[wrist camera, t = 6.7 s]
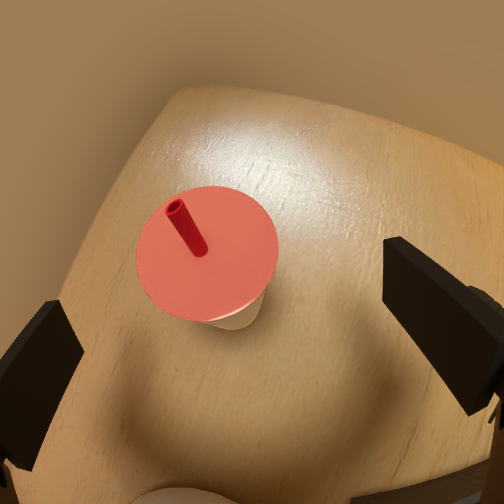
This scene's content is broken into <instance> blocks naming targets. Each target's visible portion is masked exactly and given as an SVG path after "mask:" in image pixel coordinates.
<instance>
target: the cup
mask: <svg viewBox="0 0 504 504" xmlns="http://www.w3.org/2000/svg"><path fill="white" fill-rule="evenodd" d="M277 259H278V238H277V233H276V230H275V227H274V224H273V222H272V220H271V218H270V217H269V215H268V214H267V212H266V211H265V210H264V208H263V207H262V206H261V205H260V204H259V203H258V202H256V201H255V200H254V199H253V198H251V197H249V196H248V195H246V194H244V193H242V192H240V191H237V190H234V189H231V188H226V187H219V186H207V187H199V188H194V189H191V190H188V191H185V192H182V193H180V194H178V195H176V196H174V197H173V198H171V199H169V200H168V201H167V202H165V203H164V204H163V205H162V206H160V207H159V208H158V209H157V210H156V211H155V212H154V214H153V215H152V216H151V217H150V219H149V220H148V222H147V223H146V225H145V227H144V229H143V231H142V233H141V235H140V238H139V241H138V245H137V252H136V267H137V273H138V276H139V280H140V282H141V285H142V287H143V289H144V290H145V292H146V294H147V295H148V296H149V298H150V299H151V300H152V301H153V302H154V303H155V304H156V305H157V306H158V307H160V308H161V309H162V310H164V311H165V312H167V313H169V314H171V315H173V316H175V317H178V318H181V319H185V320H190V321H200V322H203V323H206V324H209V325H212V326H216V327H219V328H223V329H227V330H238V329H242V328H244V327H246V326H248V325H249V324H251V323H252V322H253V321H254V319H255V318H256V316H257V315H258V312H259V309H260V307H261V304H262V300H263V297H264V294H265V290H266V287H267V285H268V283H269V282H270V280H271V278H272V276H273V273H274V271H275V267H276V264H277Z"/></svg>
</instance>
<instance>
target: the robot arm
mask: <svg viewBox="0 0 504 504" xmlns="http://www.w3.org/2000/svg"><path fill="white" fill-rule="evenodd" d="M382 301H383V303H384V304H385V305H386V306H387V308H388V309H389V310H390V311H391V313H392V314H393V315H394V316H395V318H396V319H397V320H398V321H399V323H400V324H401V325H402V326H403V328H404V329H405V330H406V332H407V333H408V334H409V335H410V337H411V338H412V339H413V341H414V342H415V343H416V345H417V346H418V347H419V348H420V350H421V351H422V352H423V354H424V355H425V356H426V358H427V359H428V360H429V362H430V363H431V364H432V366H433V367H434V369H435V370H436V371H437V373H438V374H439V375H440V377H441V378H442V380H443V381H444V382H445V384H446V385H447V387H448V388H449V389H450V391H451V392H452V394H453V395H454V396H455V398H456V399H457V401H458V402H459V404H460V405H461V407H462V408H463V409H464V411H465V412H466V414H467V415H468V417H469V416H471V415H473V414H474V413H476V412H478V411H480V410H482V409H483V408H485V407H487V406H488V404H489V402H490V400H491V398H492V396H493V394H494V392H495V393H496V395H497V396H498V397H499V398H500V400H499V402H498V403H497V405H496V407H495V409H494V411H493V413H492V414H491V416H490V418H489V421H488V423H490V424H491V422H492V421H493V419H494V417H495V416H496V417H495V426H494V433H493V440H492V446H491V452H490V457H489V462H488V467H487V472H486V476H485V481H484V485H483V489H482V493H481V496H480V500H479V503H478V504H504V308H502V306H501V305H500V304H499V303H498V302H496V301H495V302H494V299H493V298H492V297H490V296H489V295H488V294H487V293H485V292H484V291H482V290H480V289H478V288H475V287H473V286H468V287H467V286H465V285H464V284H463V283H462V282H460V281H459V280H458V279H457V278H455V277H454V276H453V275H452V274H450V273H449V272H448V271H446V270H445V269H444V268H443V267H441V266H440V265H439V264H437V263H436V262H435V261H433V260H432V259H431V258H429V257H428V256H427V255H425V254H424V253H423V252H421V251H420V250H419V249H417V248H416V247H415V246H413V245H412V244H410V243H409V242H408V241H406V240H405V239H403V238H402V237H401V236H399V237H394V238H389V239H384V240H383V294H382ZM83 354H84V350H83V348H82V346H81V344H80V342H79V340H78V339H77V337H76V335H75V333H74V331H73V329H72V327H71V325H70V323H69V320H68V318H67V316H66V314H65V312H64V310H63V308H62V306H61V303H60V301H59V300H54V301H48V302H45V304H44V305H43V306H42V307H41V308H40V309H39V311H38V312H37V313H36V314H35V315H34V317H33V318H32V319H31V320H30V321H29V323H28V324H27V325H26V326H25V328H24V329H23V330H22V332H21V333H20V334H19V335H18V337H17V338H16V339H15V341H14V342H13V343H12V345H11V346H10V348H9V349H8V350H7V351H6V353H5V354H4V355H3V357H2V358H1V359H0V504H19V501H18V498H17V495H16V491H15V488H14V484H13V481H12V477H11V473H10V470H9V468H8V467H7V466H6V465H5V464H4V461H5V458H7V459H8V460H9V461H10V462H11V463H12V464H13V465H14V466H15V467H16V468H19V469H23V470H26V471H30V472H32V469H33V466H34V464H35V461H36V458H37V456H38V453H39V451H40V448H41V446H42V443H43V441H44V438H45V436H46V433H47V431H48V429H49V426H50V424H51V422H52V419H53V417H54V415H55V412H56V410H57V408H58V406H59V403H60V401H61V399H62V397H63V395H64V393H65V390H66V388H67V386H68V384H69V382H70V380H71V378H72V376H73V374H74V372H75V370H76V368H77V366H78V364H79V362H80V360H81V358H82V356H83Z"/></svg>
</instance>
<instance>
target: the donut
mask: <svg viewBox="0 0 504 504" xmlns="http://www.w3.org/2000/svg"><path fill="white" fill-rule="evenodd" d="M129 504H239V503H236V502H234V501H232V500H230V499H227V498H225V497H223V496H221V495H219V494H216V493H212V492H208V491H203V490H198V489H194V488H163V489H159V490H156V491H152V492H148V493H145V494H142V495H141V496H139V497H138V498H136V499H135V500H134V501H132V502H131V503H129Z"/></svg>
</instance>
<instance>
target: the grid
mask: <svg viewBox="0 0 504 504" xmlns="http://www.w3.org/2000/svg"><path fill="white" fill-rule="evenodd" d="M488 462H489V459H488V460H486V461H483V462H481V463H479V464H476V465H474V466H471V467H469V468H466V469H463V470H461V471H458V472H455V473H452V474H449V475H447V476H444V477H441V478H437V479H434V480H431V481H428V482H424V483H421V484H417V485H414V486H410V487H406V488H402V489H398V490H394V491H389V492H384V493H380V494H375V495H369V496H364V497H358V498H352V499H351V504H478V503H479V500H480V496H481V493H482V489H483V485H484V481H485V476H486V472H487V467H488Z"/></svg>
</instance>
